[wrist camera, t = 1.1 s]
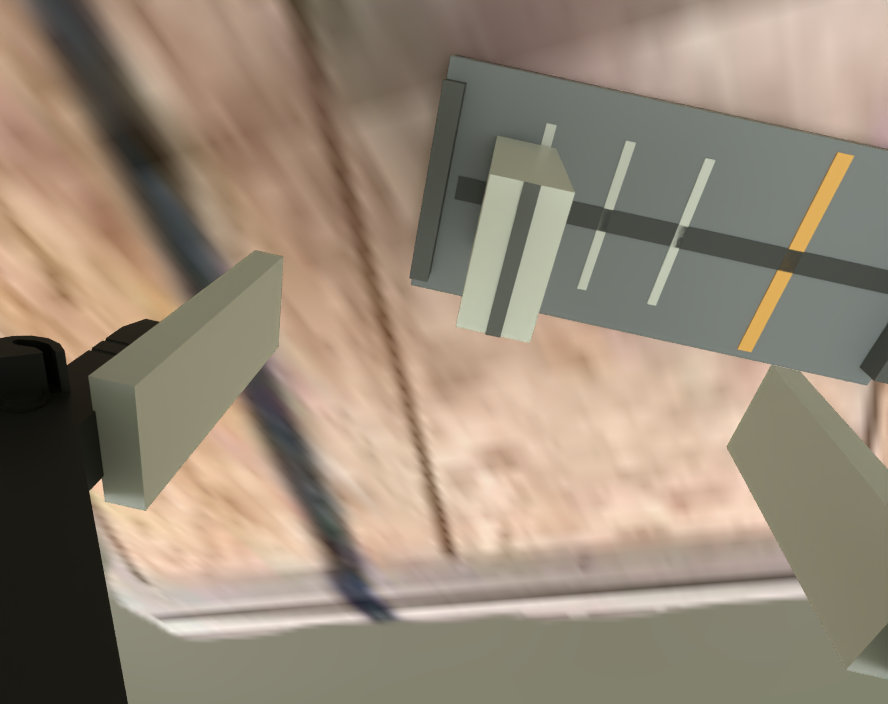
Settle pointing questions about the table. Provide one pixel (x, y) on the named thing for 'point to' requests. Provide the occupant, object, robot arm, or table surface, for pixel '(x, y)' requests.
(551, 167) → the fader handle
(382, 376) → the table surface
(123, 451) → the robot arm
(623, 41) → the table surface
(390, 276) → the table surface
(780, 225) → the fader console
